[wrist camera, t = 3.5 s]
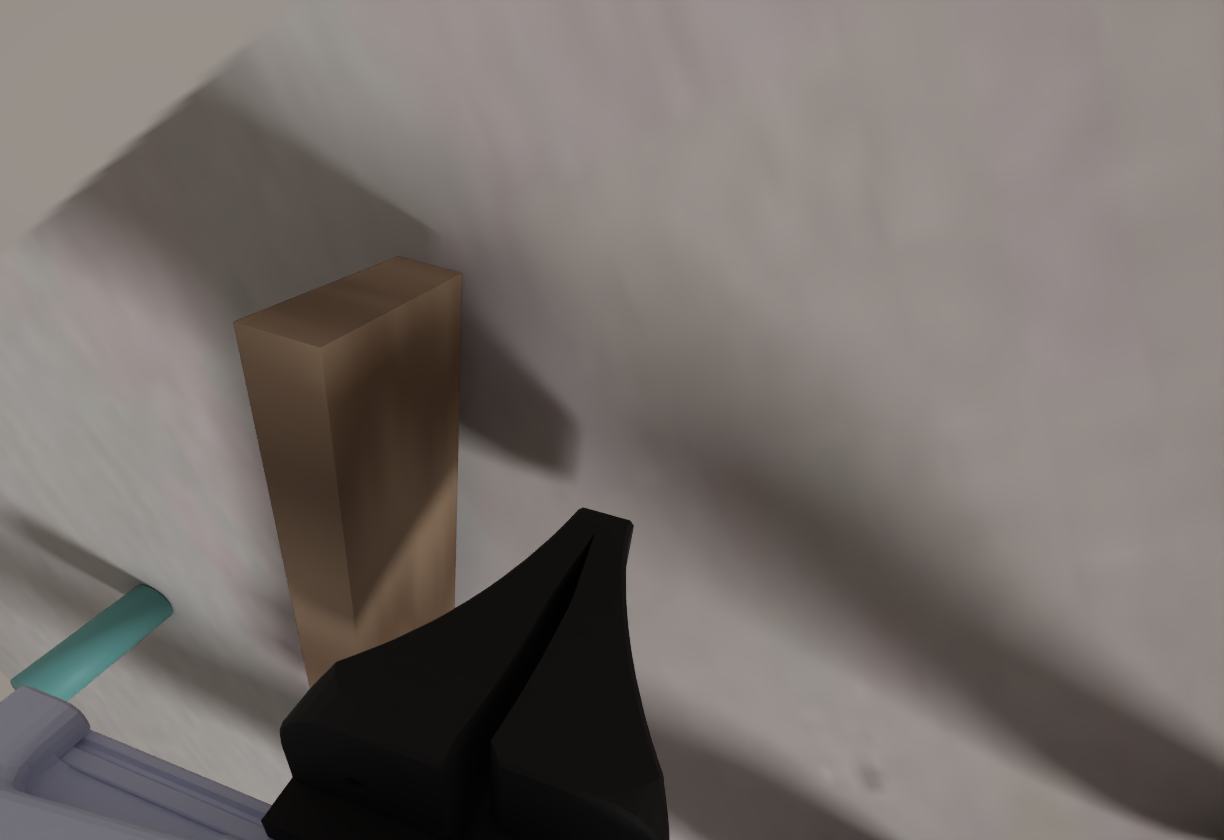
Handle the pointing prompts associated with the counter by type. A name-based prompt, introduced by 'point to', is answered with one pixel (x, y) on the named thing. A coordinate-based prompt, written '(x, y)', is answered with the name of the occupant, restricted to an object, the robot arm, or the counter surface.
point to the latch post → (96, 644)
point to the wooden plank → (361, 451)
